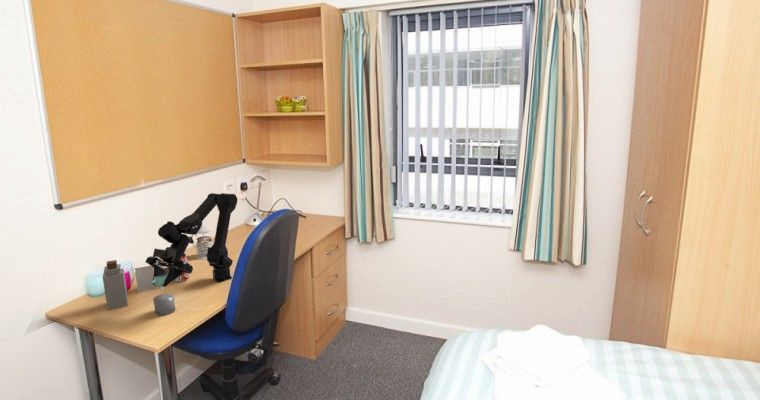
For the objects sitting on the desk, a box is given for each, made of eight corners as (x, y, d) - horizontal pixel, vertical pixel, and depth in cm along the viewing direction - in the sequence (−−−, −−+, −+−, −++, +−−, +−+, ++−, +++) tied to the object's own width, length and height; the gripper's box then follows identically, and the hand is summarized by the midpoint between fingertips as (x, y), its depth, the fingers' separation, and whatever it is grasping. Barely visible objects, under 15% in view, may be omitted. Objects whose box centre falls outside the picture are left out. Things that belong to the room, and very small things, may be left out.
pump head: (162, 285, 171) (161, 273, 170) (172, 287, 170) (170, 275, 168) (147, 293, 165) (145, 281, 163) (156, 295, 163) (155, 282, 162)
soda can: (183, 283, 195) (180, 258, 193) (169, 282, 197) (165, 257, 194) (192, 277, 202) (189, 252, 199) (179, 276, 204) (176, 251, 201)
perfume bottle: (107, 309, 172) (100, 266, 168) (109, 302, 178) (102, 260, 174) (127, 305, 175) (121, 263, 171) (128, 299, 181) (121, 257, 177)
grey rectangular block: (155, 288, 191) (152, 266, 188) (138, 291, 188) (134, 269, 185) (155, 285, 194) (152, 264, 192) (138, 288, 191) (134, 266, 189)
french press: (211, 259, 224) (206, 211, 218) (188, 259, 224) (183, 211, 219) (218, 252, 234) (214, 206, 228) (196, 252, 234) (191, 207, 228)
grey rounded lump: (165, 305, 175) (163, 292, 173) (179, 308, 172) (177, 295, 171) (151, 313, 168) (149, 300, 167) (165, 316, 166) (163, 302, 165)
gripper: (146, 236, 171) (125, 274, 163) (183, 241, 164) (164, 280, 157) (164, 249, 180) (145, 285, 172) (201, 254, 173) (183, 292, 166)
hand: (158, 285), depth 167 cm, fingers closed on pump head, 5 cm apart
